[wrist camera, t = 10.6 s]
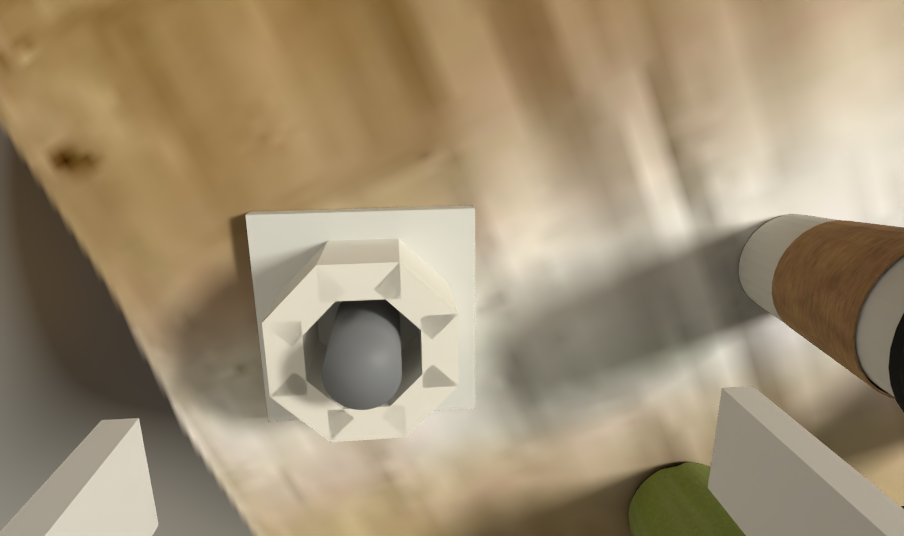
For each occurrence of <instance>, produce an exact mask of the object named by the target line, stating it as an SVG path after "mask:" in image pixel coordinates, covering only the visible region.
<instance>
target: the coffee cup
mask: <svg viewBox="0 0 904 536" xmlns="http://www.w3.org/2000/svg"><path fill="white" fill-rule="evenodd" d="M739 278H740V282H741V285H742V287H743V289H744V291H745V293H746V294H747V295H748V297H749V298H750V299H752V300H753V301H754V302H755V303H756V304H758V305H759V306H761V307H762V308H764V309H765V310H766V311H768V312H769V313H771V314H772V315H774V316H775V317H777V318H778V319H780V320H781V321H783V322H784V323H786V324H787V325H788V326H789V327H790V328H792V329H793V330H794V331H796V332H797V333H798V334H800V335H801V336H803V337H804V338H805V339H807V340H808V341H809V342H811V343H812V344H813V345H815V346H816V347H818V348H819V349H820V350H822V351H823V352H824V353H826V354H827V355H829V356H830V357H831V358H833V359H834V360H835V361H837V362H838V363H840V364H841V365H842V366H844V367H845V368H846V369H848V370H849V371H850V372H852V373H853V374H855V375H856V376H857V377H859V378H860V379H861V380H863V381H864V382H866V383H867V384H868V385H870V386H871V387H872V388H874V389H875V390H877V391H878V392H880V393H882V394H884V395H886V396H888V397H891V398H895V399H896V401H897V403H898V404H899V406H900V407H901V409H902V410H903V412H904V228H903V227H895V226H886V225H878V224H870V223H862V222H854V221H842V220H834V219H828V218H821V217H815V216H808V215H798V214H789V215H783V216H780V217H777V218H774V219H772V220H770V221H768V222H767V223H765V224H763V225H762V226H761V227H760V228H759V229H757V230H756V231H755V232H754V233H753V235H752V236H751V237H750V238H749V240H748V241H747V243H746V245H745V246H744V249H743V251H742V254H741V257H740V262H739Z"/></svg>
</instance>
